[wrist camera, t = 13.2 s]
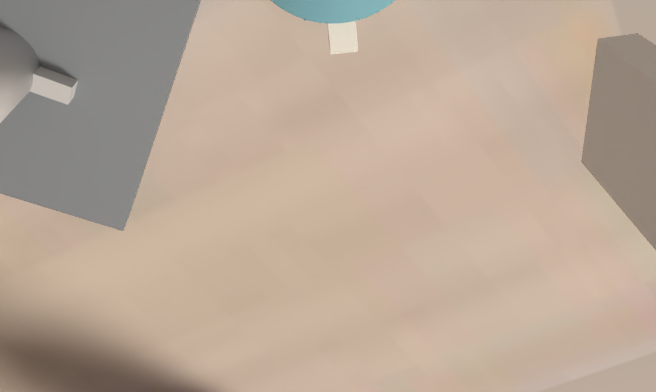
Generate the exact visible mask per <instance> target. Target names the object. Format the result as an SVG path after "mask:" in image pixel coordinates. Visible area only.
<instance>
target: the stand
mask: <svg viewBox="0 0 656 392" xmlns="http://www.w3.org/2000/svg"><path fill="white" fill-rule="evenodd" d="M200 1H201V0H0V193H1V194H4V195H7V196H11V197H14V198H17V199H20V200H24V201H27V202H30V203H33V204H37V205H40V206H43V207H46V208H50V209H53V210H56V211H60V212H63V213H66V214H69V215H73V216H76V217H79V218H82V219H86V220H89V221H92V222H95V223H99V224H102V225H105V226H109V227H112V228H115V229H118V230H122V231H123V230H124V227H125V225H126V222H127V220H128V217H129V214H130V211H131V208H132V205H133V202H134V199H135V196H136V193H137V190H138V187H139V184H140V181H141V178H142V175H143V172H144V169H145V166H146V163H147V160H148V157H149V154H150V151H151V148H152V145H153V142H154V139H155V136H156V133H157V130H158V127H159V124H160V121H161V118H162V115H163V112H164V109H165V106H166V103H167V100H168V97H169V94H170V91H171V88H172V85H173V82H174V79H175V76H176V73H177V70H178V67H179V64H180V61H181V58H182V55H183V52H184V49H185V46H186V43H187V40H188V37H189V34H190V31H191V28H192V25H193V22H194V19H195V16H196V13H197V10H198V7H199V4H200Z"/></svg>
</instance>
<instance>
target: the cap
mask: <svg viewBox="0 0 656 392" xmlns="http://www.w3.org/2000/svg"><path fill="white" fill-rule="evenodd" d="M271 1H272V2H273V3H274V4H276V5H277V6H279V7H280V8H282V9H283V10H285V11H287V12H289V13H291V14H293V15H295V16H297V17H300V18H302V19H304V20H309V21H313V22H318V23H327V25H328V35H329V45H330V52H331V54H340V53H349V52H357V51H358V45H357V32H356V20H360V19H363V18H366V17H368V16H371V15H373V14H375V13H377V12H379V11H380V10H382V9H384V8H385V7H387V6H388V5H390V4H391V3H392V2H393V1H395V0H271Z"/></svg>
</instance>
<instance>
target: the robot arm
mask: <svg viewBox="0 0 656 392" xmlns="http://www.w3.org/2000/svg"><path fill="white" fill-rule="evenodd" d="M581 162H582V163H583V164H584V166H585V167H586V168H587V169H588V170H589V171H590V173H591V174H592V175H593V176H594V177H595V179H596V180H597V181H598V182H599V183H600V185H601V186H602V187H603V188H604V189H605V190H606V192H607V193H608V194H609V195H610V196H611V198H612V199H613V200H614V201H615V202H616V204H617V205H618V206H619V207H620V208H621V209H622V211H623V212H624V213H625V214H626V215H627V217H628V218H629V219H630V220H631V221H632V223H633V224H634V225H635V226H636V227H637V228H638V230H639V231H640V232H641V233H642V234H643V236H644V237H645V238H646V239H647V240H648V242H649V243H650V244H651V245H652V246H653V247H654V249H655V250H656V45H655V44H653V43H652V42H650V41H648V40H647V39H646V38H644V37H642V36H641V35H639V34H638V33H636V34H629V35H622V36H615V37H607V38H600V39H598V41H597V49H596V56H595V64H594V71H593V79H592V86H591V94H590V101H589V109H588V116H587V124H586V131H585V139H584V146H583V154H582V161H581Z"/></svg>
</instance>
